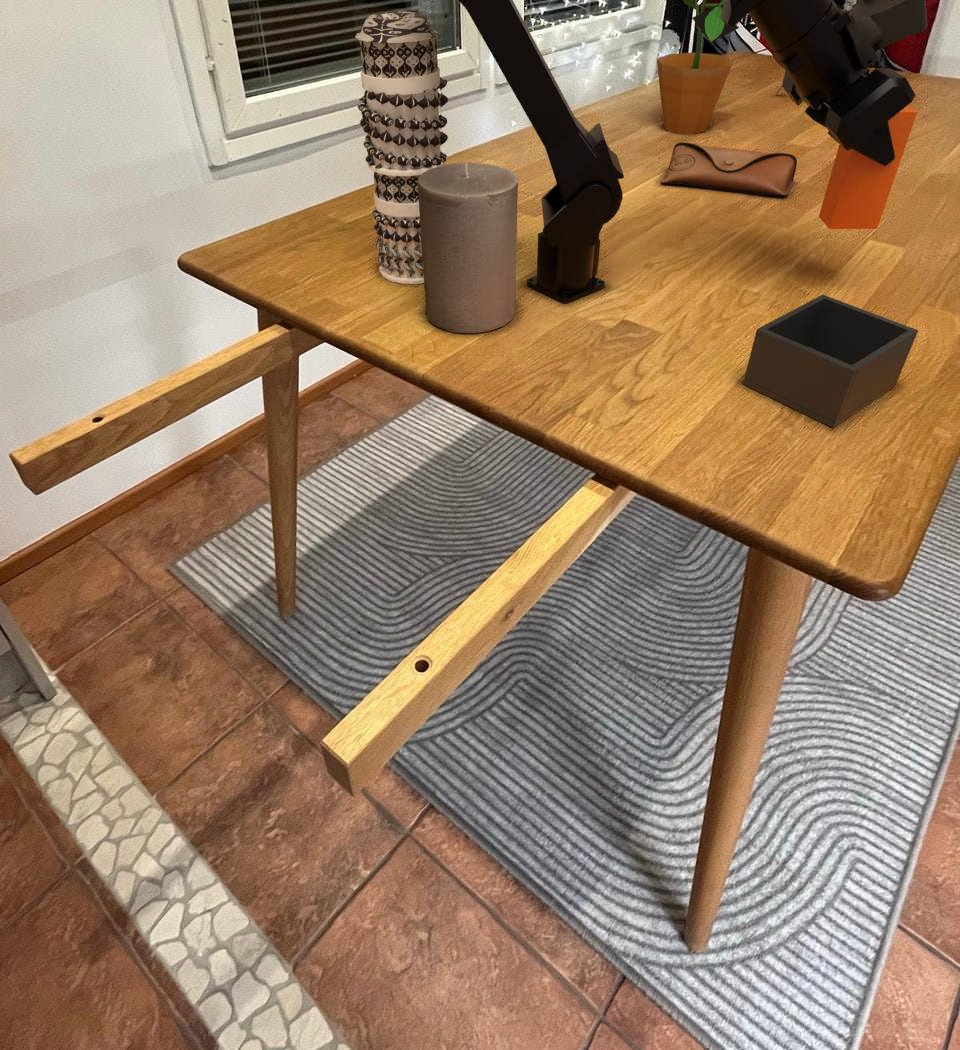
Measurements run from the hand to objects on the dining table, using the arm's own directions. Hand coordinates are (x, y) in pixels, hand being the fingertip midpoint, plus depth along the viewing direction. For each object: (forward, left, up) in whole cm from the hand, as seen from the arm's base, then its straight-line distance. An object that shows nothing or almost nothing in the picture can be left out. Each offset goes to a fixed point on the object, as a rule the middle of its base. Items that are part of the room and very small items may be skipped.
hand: (882, 155), depth 74 cm
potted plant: (+36, +51, -14) cm, 64 cm away
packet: (-1, +1, -7) cm, 7 cm away
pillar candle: (-35, +22, -14) cm, 44 cm away
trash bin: (-20, -10, -13) cm, 26 cm away
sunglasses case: (+18, +29, -14) cm, 37 cm away
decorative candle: (-33, +35, -14) cm, 50 cm away
